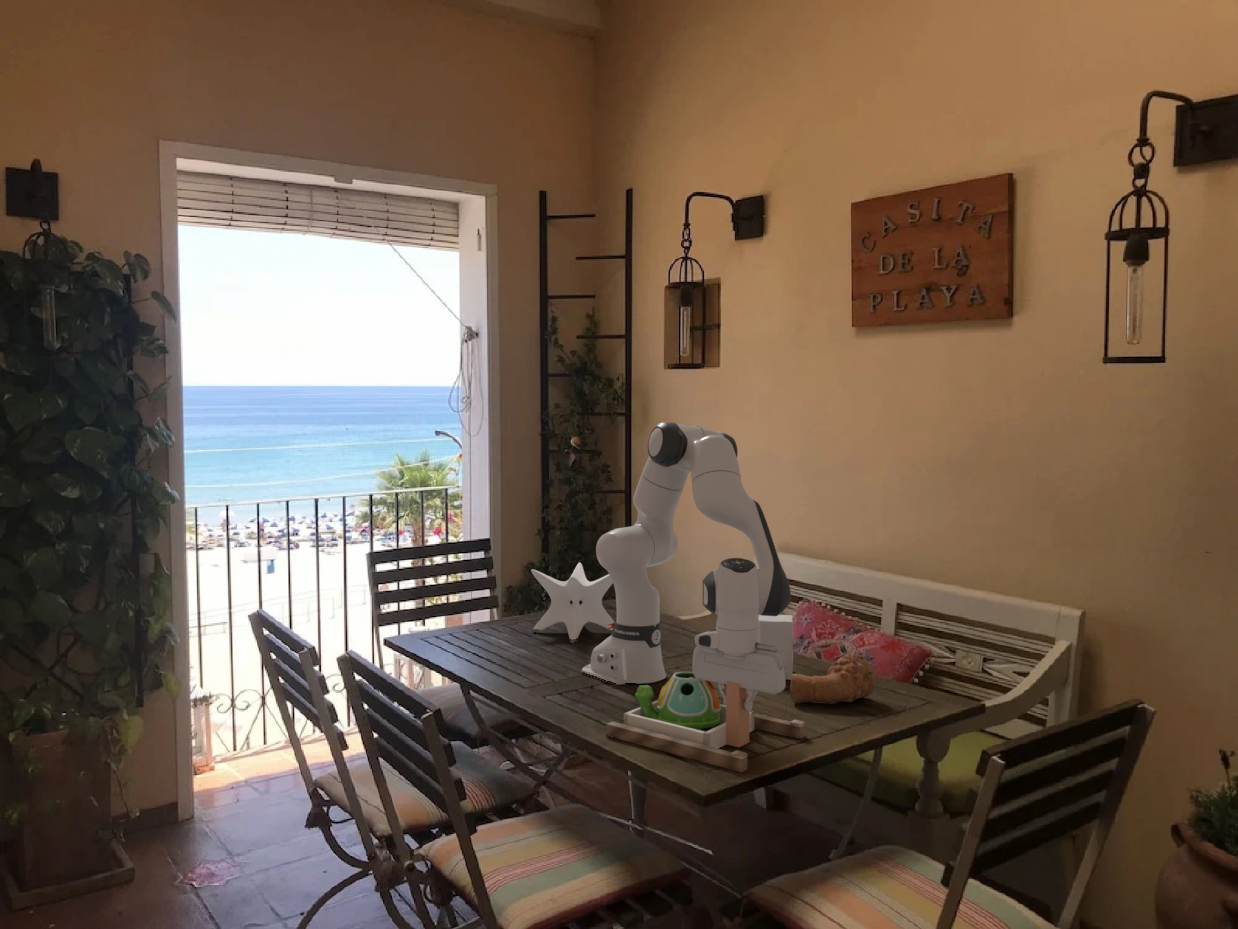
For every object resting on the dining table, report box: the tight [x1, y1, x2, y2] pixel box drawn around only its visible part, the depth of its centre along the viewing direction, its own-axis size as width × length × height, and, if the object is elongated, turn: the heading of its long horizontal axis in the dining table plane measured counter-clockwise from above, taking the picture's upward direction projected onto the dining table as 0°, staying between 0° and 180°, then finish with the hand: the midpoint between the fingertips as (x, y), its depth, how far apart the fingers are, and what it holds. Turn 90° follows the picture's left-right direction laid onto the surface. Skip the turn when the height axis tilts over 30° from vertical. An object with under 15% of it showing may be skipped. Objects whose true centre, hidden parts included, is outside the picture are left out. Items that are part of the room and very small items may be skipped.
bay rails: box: [605, 712, 806, 773], centre depth 195 cm, size 33×25×3 cm
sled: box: [623, 681, 755, 749], centre depth 196 cm, size 24×18×13 cm
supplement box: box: [758, 614, 794, 681], centre depth 240 cm, size 9×9×15 cm
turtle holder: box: [634, 671, 721, 731], centre depth 199 cm, size 12×18×12 cm
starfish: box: [530, 562, 615, 640], centre depth 289 cm, size 20×20×20 cm
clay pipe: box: [789, 652, 878, 705], centre depth 219 cm, size 19×11×15 cm
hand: (737, 707), depth 189 cm, fingers closed on sled, 3 cm apart
